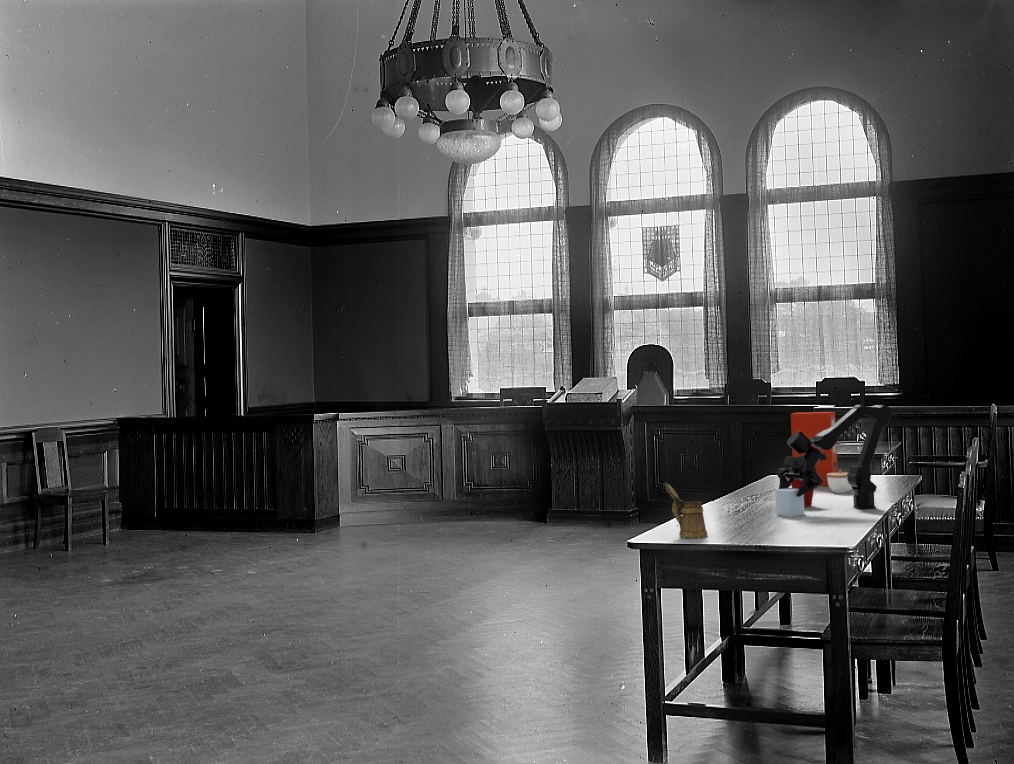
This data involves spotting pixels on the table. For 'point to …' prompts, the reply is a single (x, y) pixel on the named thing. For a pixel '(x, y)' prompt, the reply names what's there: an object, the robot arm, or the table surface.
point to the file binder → (810, 427)
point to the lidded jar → (838, 482)
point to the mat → (814, 518)
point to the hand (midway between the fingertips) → (788, 495)
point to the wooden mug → (688, 516)
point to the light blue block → (789, 502)
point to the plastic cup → (807, 495)
